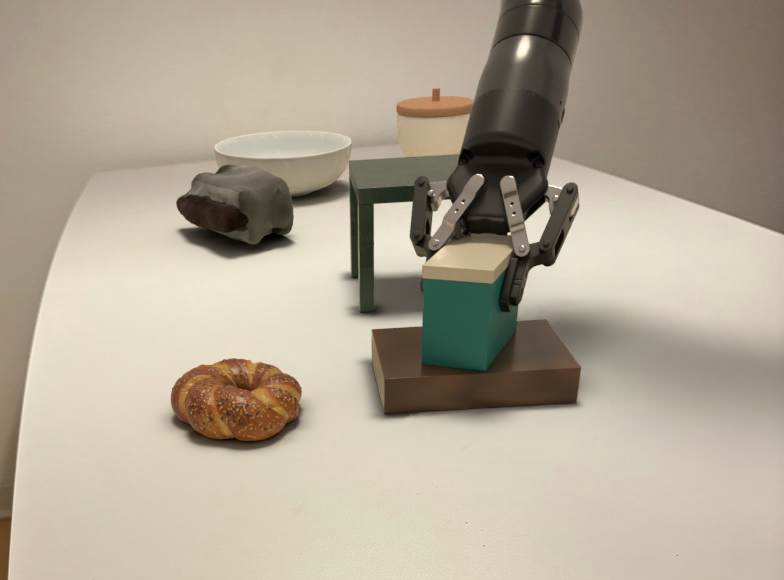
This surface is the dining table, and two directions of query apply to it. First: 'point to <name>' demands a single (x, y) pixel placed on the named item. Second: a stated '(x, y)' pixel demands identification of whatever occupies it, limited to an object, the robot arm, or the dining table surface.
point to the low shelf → (475, 373)
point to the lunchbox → (466, 303)
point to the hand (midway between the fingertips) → (467, 303)
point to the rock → (239, 203)
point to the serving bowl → (290, 156)
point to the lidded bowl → (433, 124)
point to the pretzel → (236, 399)
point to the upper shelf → (378, 186)
